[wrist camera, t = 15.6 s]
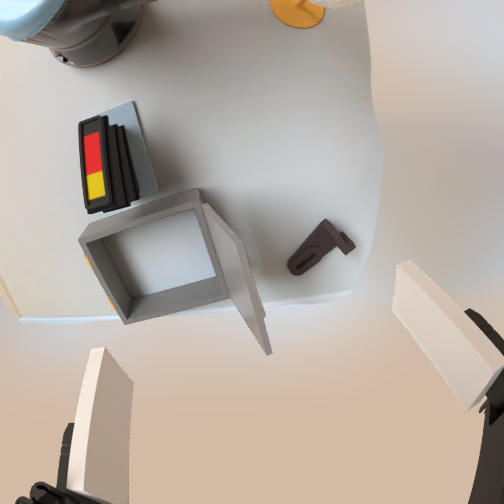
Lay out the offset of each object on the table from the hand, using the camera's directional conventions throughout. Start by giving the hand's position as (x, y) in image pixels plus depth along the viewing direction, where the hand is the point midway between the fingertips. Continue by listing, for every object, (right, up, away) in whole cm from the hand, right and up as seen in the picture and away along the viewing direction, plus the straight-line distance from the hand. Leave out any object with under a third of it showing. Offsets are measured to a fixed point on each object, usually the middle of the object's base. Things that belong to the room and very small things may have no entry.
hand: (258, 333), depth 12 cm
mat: (-20, +18, +28) cm, 39 cm away
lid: (-3, 0, +26) cm, 26 cm away
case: (-15, +4, +38) cm, 40 cm away
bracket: (+11, +5, +43) cm, 45 cm away
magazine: (-20, +18, +28) cm, 39 cm away
